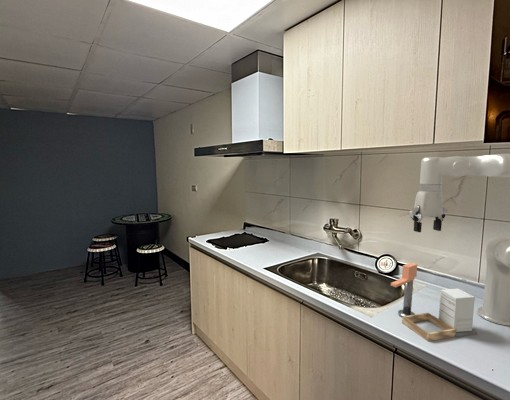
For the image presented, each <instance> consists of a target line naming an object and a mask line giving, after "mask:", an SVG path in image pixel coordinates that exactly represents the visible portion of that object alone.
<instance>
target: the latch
mask: <svg viewBox="0 0 510 400" xmlns="http://www.w3.org/2000/svg"><path fill="white" fill-rule="evenodd" d="M417 273H418V264H417V263H414V262H409V263H405V264H404V265H402V274H401V278H400V279H397V280H395V281H392V282H390V286H391V287H394V288H398V287H400V286H402V285H405V283H408V282H410V281H412V280H413V281H414V280H415V279H416V278H417Z"/></svg>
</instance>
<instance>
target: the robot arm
mask: <svg viewBox="0 0 510 400" xmlns="http://www.w3.org/2000/svg"><path fill="white" fill-rule="evenodd" d="M420 162H421V163H420V172H419V173H420V178H419V190H418V191H417V192H416V195H415V199H414V207H413V209H411V210H409V215H410V218H411V219H412V221H413V231H414V232H416V233H421V232H422V224H423V223H422V220H423V219H424V218H434V220H433V224H432V225H433V226H432V229H433V230H434V231H437V232H441V231H442V225H443V224H442V223H443V221H444V219H445V217H446V215H447V212H448V209H447V208H445V207H444V198H443V192H442V189H443V176H451V177H461V176H477V177H479V176H480V177H489V178H510V153H498V154H497V153H496V154H487V155H478V156H477V155H476V156H475V155H473V156H462V155H461V156H459V155H455V156H447V157H440V156H426V157H424V158H422V159H421V161H420ZM485 258H486V271H485V280H484V288H483V298H482V300H483V301H482V306H481V307H478V308H477V309H476V310H477V311H476V313H477V314H478V315H479V316H480V317H481V318H483V319H485V320H487V321H489V322H492V323H495V324H498V325H504V326H509V327H510V237H507V236H502V235H501V236H495V237H493V238H491V239H490V240H489V241H488V242H487V244H486V247H485Z"/></svg>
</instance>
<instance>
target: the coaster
mask: <svg viewBox="0 0 510 400" xmlns="http://www.w3.org/2000/svg"><path fill="white" fill-rule="evenodd" d="M477 334H478V331H477V330H476V329H473V328H472V331H463V332H456V334H455V336H454V337H455V338H462V337H466V336H473V335H477Z"/></svg>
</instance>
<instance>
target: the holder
mask: <svg viewBox="0 0 510 400" xmlns="http://www.w3.org/2000/svg"><path fill="white" fill-rule="evenodd" d="M401 318H402V320H401V324H403V325H405V326H406V327H407V328H409V329H410V330H412V331H413V332H414V333H415V334H417V335H419V336H420V337H421V338H422V339H424V340H425V341H427V342H431V341H436V340H442V339H448V338H452V337H453V338H454V337H455V334H456V329H455V328H453V327H452V326H450V325H448V324H446V323H445V322H443V321H441V320H440V319H439V317H437V316H435V315H433V314H431V313H429V312H425V313H424V312H423V313H418V314H415V315H410V316H403V317H401ZM422 321H429V322H430V323H432V324H434V325H435V326H436V327H439V328H440V329H442V330H437V331H432V332H427V331H426V330H425V329H423V328H422V327H420V326H419V325H417V324H416V322H422Z"/></svg>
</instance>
